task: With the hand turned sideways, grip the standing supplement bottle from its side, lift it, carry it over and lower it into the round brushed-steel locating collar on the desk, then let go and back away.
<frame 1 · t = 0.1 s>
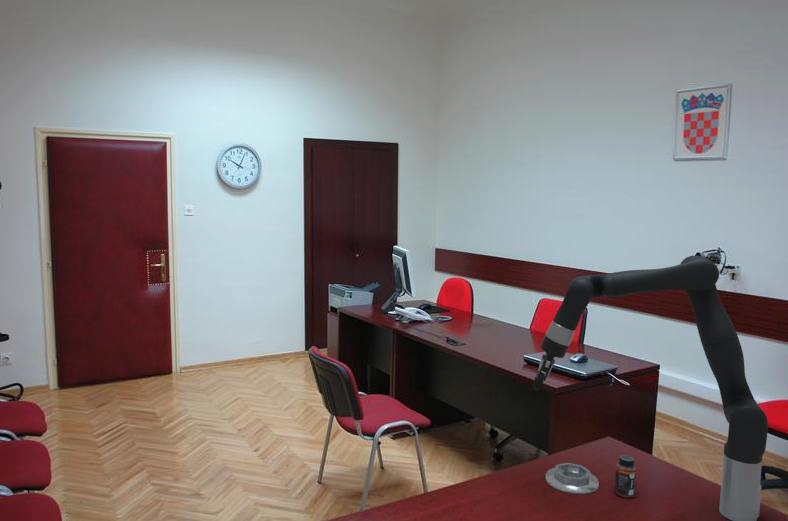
hand: (536, 385, 177), 31 cm above the table, tool tilted 20°, fingers open, 8 cm apart
steel collar: (571, 481, 182), on the table
supplement bottle: (624, 494, 175), on the table
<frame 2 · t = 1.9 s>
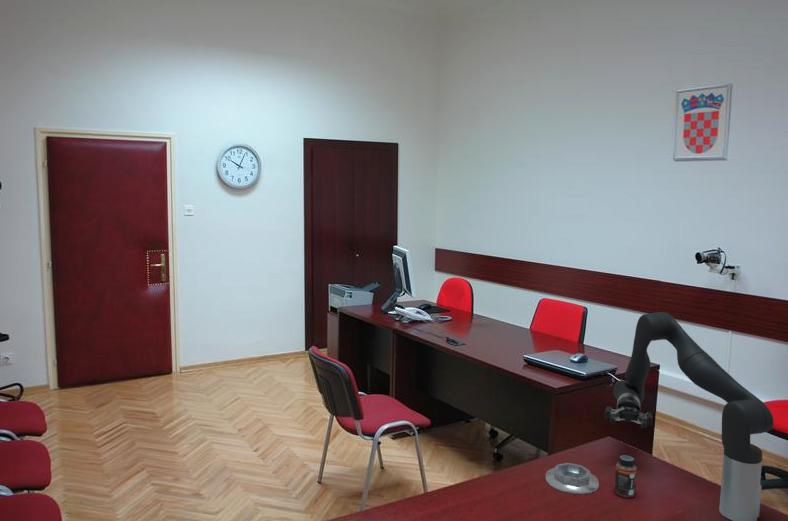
hand: (628, 423, 183), 18 cm above the table, tool horizontal, fingers open, 8 cm apart
nothing on the table moved.
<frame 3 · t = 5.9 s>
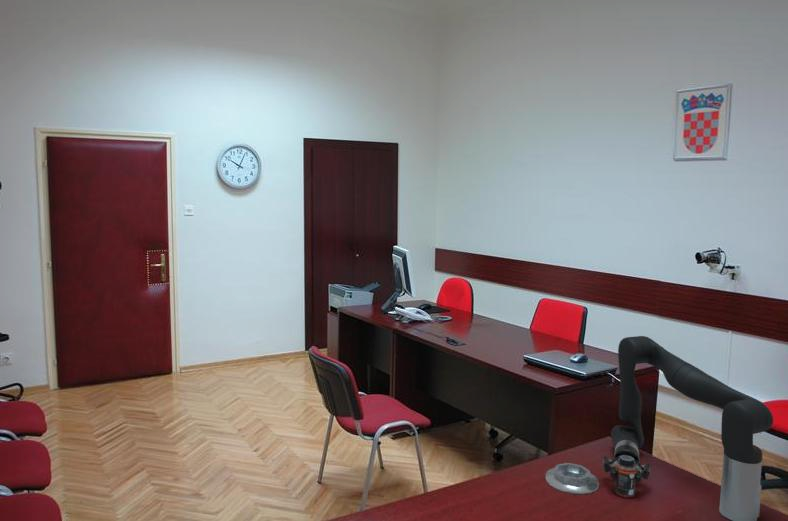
hand: (625, 478, 172), 6 cm above the table, tool horizontal, fingers closed on supplement bottle, 6 cm apart
supplement bottle: (624, 494, 175), on the table, touching gripper
when the fingers open (8 cm above the table, at t = 11.2 s): supplement bottle drops 1 cm, resting on steel collar.
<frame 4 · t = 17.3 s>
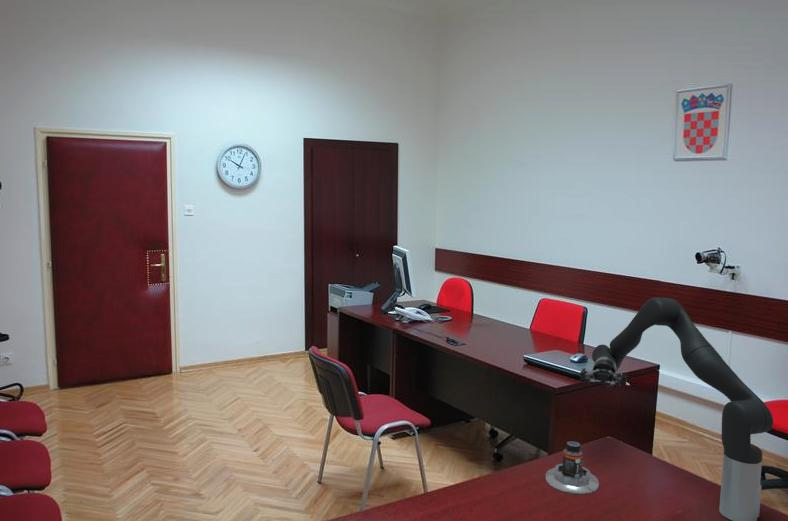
hand: (602, 383, 185), 30 cm above the table, tool horizontal, fingers open, 8 cm apart
supplement bottle: (571, 478, 182), point 1 cm above the table, touching steel collar
at the end: supplement bottle 0.1 cm off-centre on the steel collar, point 0.8 cm above the steel collar's base; supplement bottle tilted 0°; the gripper is holding nothing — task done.
